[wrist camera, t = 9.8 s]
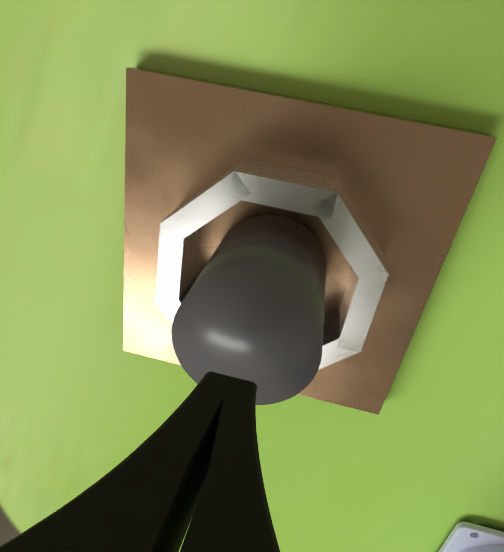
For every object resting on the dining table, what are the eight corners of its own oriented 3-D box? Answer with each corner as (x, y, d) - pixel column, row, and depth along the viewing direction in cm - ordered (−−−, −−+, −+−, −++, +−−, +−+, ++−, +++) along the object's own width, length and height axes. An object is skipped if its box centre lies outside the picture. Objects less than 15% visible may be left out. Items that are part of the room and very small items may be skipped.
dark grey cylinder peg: (337, 226, 17) (337, 296, 12) (314, 324, 20) (305, 418, 14) (221, 205, 18) (174, 264, 13) (212, 303, 20) (169, 387, 15)
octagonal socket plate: (489, 134, 16) (520, 149, 13) (377, 403, 22) (382, 448, 20) (135, 67, 17) (97, 68, 14) (129, 342, 23) (103, 377, 21)
